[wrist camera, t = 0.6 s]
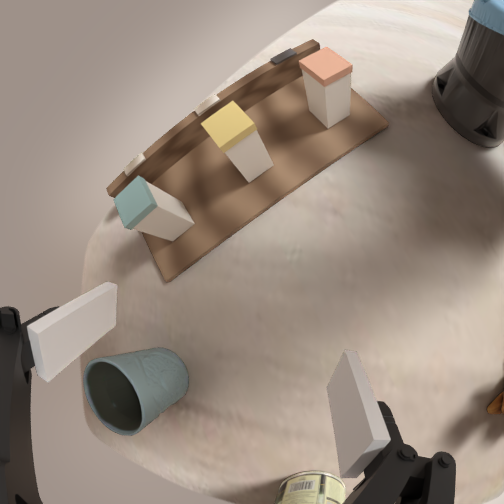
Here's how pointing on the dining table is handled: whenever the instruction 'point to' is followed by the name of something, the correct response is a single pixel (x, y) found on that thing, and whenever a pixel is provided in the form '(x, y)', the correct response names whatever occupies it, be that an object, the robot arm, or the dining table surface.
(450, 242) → the dining table surface
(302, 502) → the coffee can
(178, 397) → the blue-grey embossed cup
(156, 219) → the button
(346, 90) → the button
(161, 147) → the button console
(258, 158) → the middle button
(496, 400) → the stuffed squirrel
